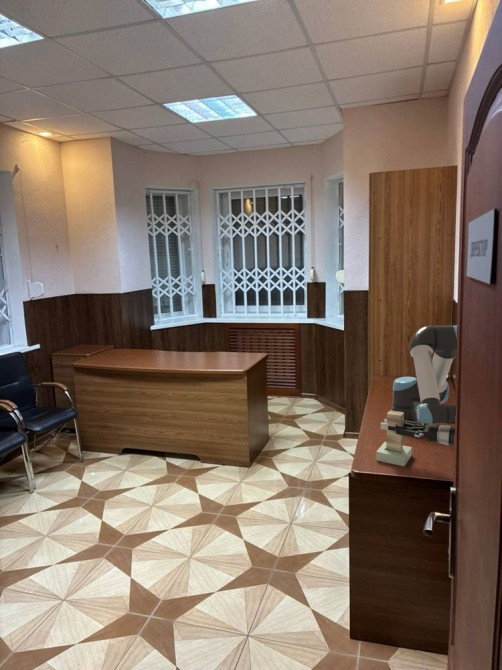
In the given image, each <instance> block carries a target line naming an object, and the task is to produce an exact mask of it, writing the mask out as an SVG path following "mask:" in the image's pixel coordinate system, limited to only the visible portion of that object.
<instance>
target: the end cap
mask: <svg viewBox="0 0 502 670" xmlns="http://www.w3.org/2000/svg"><path fill="white" fill-rule="evenodd" d="M412 451H413V447H412V446H407V445H403V448H402V449H401V451H398V450H393V449H388V448H386V441H384V442H383V443H382V444H381V445H380V447H378V449H377V450H376V454H375V455H376V459H375V461H378V462H383V463H386V464H392V465H395V466H401V467H405V466H406V465H407V463H408V462H409V460H410V459H411V457H412Z"/></svg>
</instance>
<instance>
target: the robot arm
mask: <svg viewBox="0 0 502 670" xmlns="http://www.w3.org/2000/svg"><path fill="white" fill-rule="evenodd" d="M457 326H458V325H455V324H454V325H424V326H423V327H421V328H419V329H418V330H417V331H415V333H414V334H413V335H412V337H411V339H410V342H409V354H410V356H411V357H412V358H413V363H414V364H413V365H414V370H415V376H416V377H414V376H401V377H398V378H396V379H395V380H393V384H392V406H391V408H390V409H391V411H397V412H403V413H404V424H403V427H401V426H397V424H396V425H393V424H388V423H387V418H384V419H383V422H380V430H384V431H387V430H390V431H395V432H396V434H398V435H403V437H404V436H405V437H407V438H408V437H410V438H413V439H417V440H420V437H421V438H423V437H424V438H427V441H428V442H431V443H434V444H435V443H436V444H437V443H439V444H443V445H445V446H453V447H455V446H454V435H455V426H451V425H452V424H453V425H455V416H456V404H444V403H446V402H447V401H448V398H449V397H450V386H449V383H448V381H447V377H448V374H449V372H450V369H451V366H452V363H453V361H454V359H455V358H457V357H456V352H457ZM432 355H433V356H432ZM416 403H421V404H419V405H418V406H417V409H416ZM427 424H429V425H427ZM440 424H441V425H440ZM444 424H446V425H444ZM449 424H450V425H449Z"/></svg>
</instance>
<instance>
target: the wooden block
mask: <svg viewBox="0 0 502 670" xmlns="http://www.w3.org/2000/svg"><path fill="white" fill-rule="evenodd" d="M386 413H387V414H386V419H387V423H388V424H393V425H396V424H397V426H401V427H403V424H404V413H403V412H397V411H391V410H389V411H388V412H386ZM385 442H386V448H388V449H393V450H398V451H401V449H402V448H403V446H404V436H403V435H398V434H396V432H395V431H390V430H386V441H385Z"/></svg>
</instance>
